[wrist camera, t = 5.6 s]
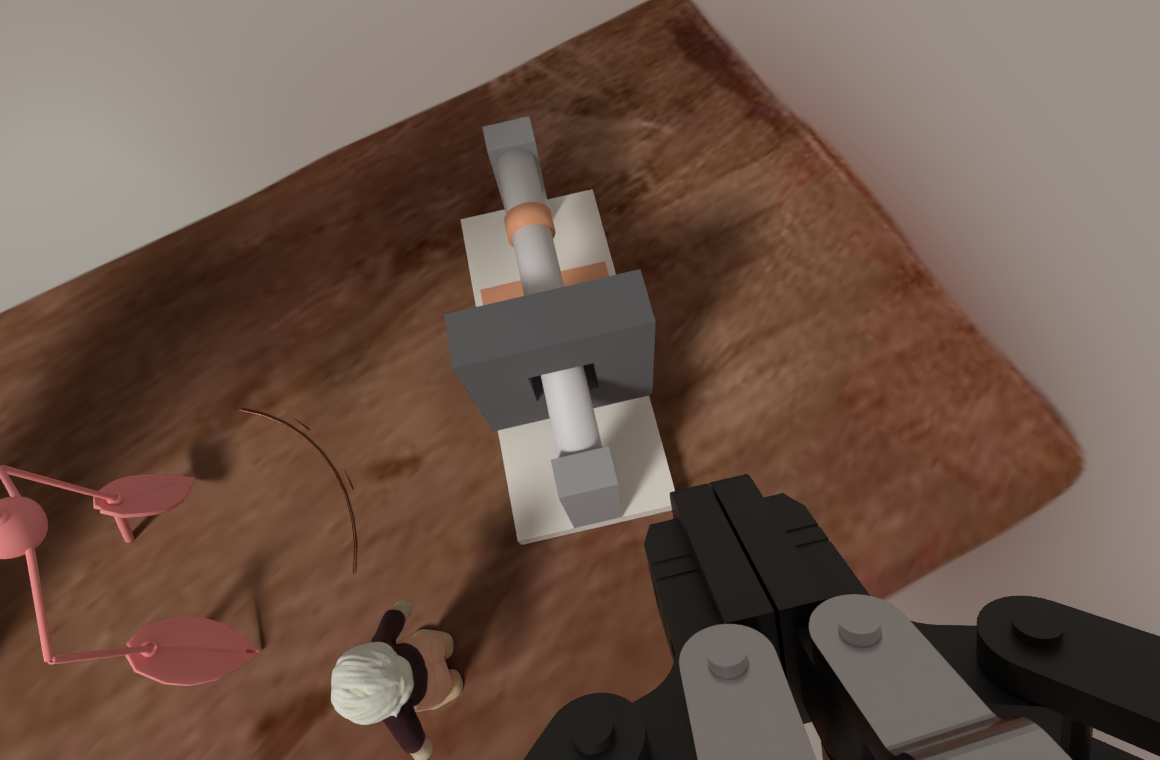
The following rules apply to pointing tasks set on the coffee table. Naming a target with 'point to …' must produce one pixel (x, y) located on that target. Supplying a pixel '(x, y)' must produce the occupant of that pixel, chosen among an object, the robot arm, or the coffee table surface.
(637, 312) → the grey plate with hole
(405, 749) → the grandmother figurine
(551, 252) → the pipe stand
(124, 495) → the flower
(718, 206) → the coffee table surface
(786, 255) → the coffee table surface
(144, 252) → the coffee table surface
